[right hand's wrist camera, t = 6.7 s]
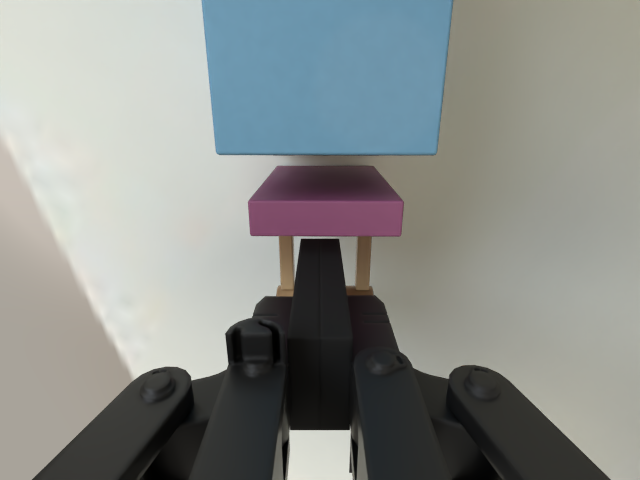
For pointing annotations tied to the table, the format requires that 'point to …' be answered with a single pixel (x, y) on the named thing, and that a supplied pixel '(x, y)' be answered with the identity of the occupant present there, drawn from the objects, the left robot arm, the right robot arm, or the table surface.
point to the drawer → (325, 213)
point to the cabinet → (327, 75)
